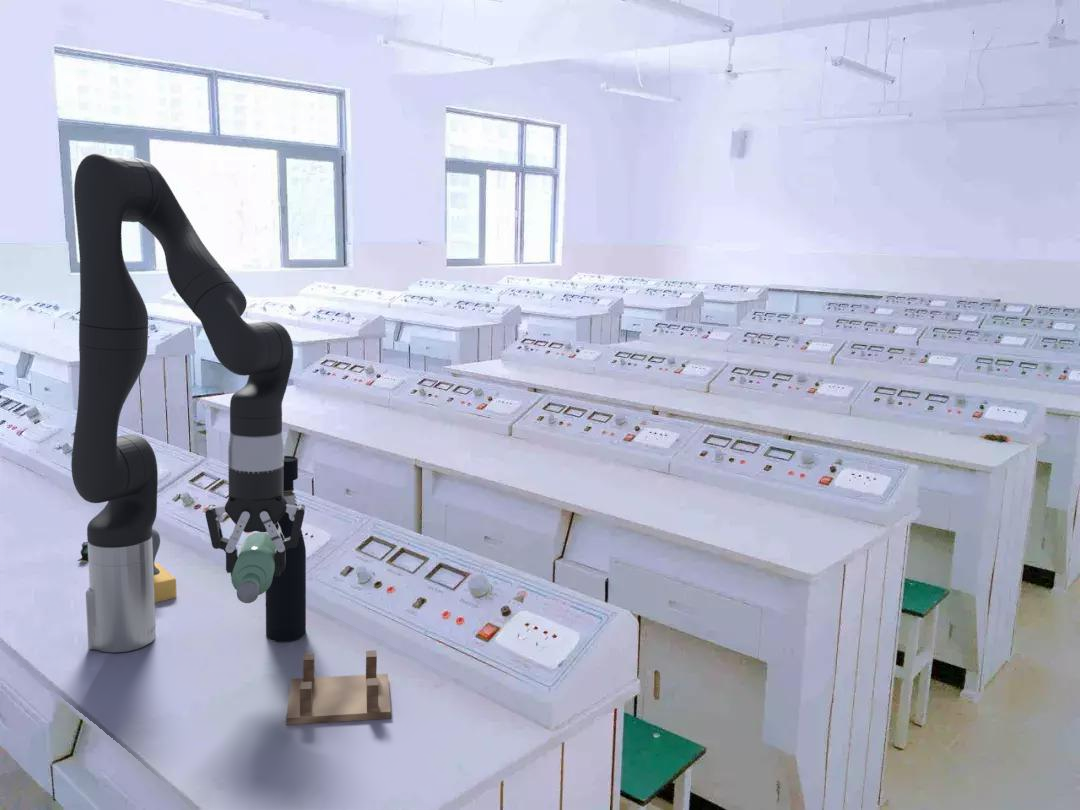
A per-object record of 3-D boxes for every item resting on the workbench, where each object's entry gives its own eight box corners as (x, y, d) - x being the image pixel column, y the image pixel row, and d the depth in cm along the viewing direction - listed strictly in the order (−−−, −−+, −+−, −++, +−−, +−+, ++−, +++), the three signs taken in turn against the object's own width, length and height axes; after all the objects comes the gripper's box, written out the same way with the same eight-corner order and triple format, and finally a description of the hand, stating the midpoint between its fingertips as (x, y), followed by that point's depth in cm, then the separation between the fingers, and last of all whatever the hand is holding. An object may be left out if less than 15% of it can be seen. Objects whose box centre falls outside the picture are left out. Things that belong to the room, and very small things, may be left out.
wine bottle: (294, 644, 145) (294, 465, 139) (258, 639, 146) (256, 461, 141) (312, 628, 151) (312, 456, 146) (277, 623, 152) (276, 452, 147)
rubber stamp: (177, 597, 161) (175, 533, 159) (143, 605, 157) (141, 540, 155) (158, 580, 168) (156, 519, 166) (125, 586, 164) (123, 524, 162)
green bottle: (240, 566, 135) (241, 532, 134) (277, 567, 137) (279, 533, 136) (225, 612, 120) (226, 573, 119) (268, 612, 121) (269, 574, 120)
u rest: (286, 724, 122) (286, 690, 121) (291, 684, 132) (291, 653, 131) (390, 718, 125) (391, 685, 124) (387, 679, 135) (388, 649, 134)
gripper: (198, 469, 122) (200, 585, 125) (307, 469, 125) (305, 583, 128) (207, 455, 129) (208, 565, 133) (309, 456, 132) (308, 564, 136)
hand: (256, 573), depth 131 cm, fingers closed on green bottle, 5 cm apart
